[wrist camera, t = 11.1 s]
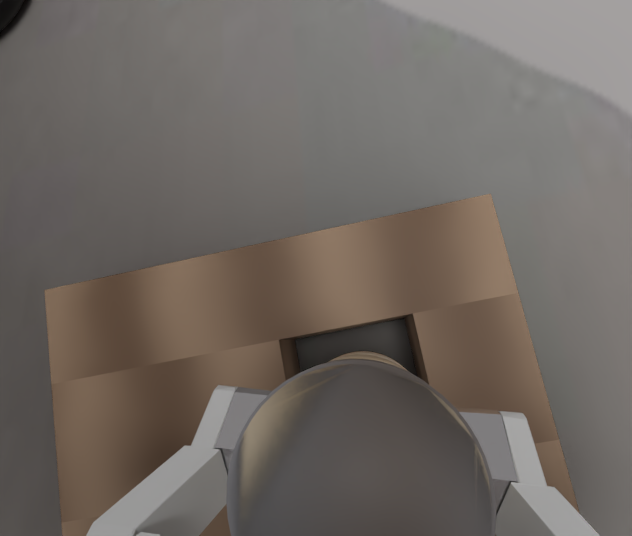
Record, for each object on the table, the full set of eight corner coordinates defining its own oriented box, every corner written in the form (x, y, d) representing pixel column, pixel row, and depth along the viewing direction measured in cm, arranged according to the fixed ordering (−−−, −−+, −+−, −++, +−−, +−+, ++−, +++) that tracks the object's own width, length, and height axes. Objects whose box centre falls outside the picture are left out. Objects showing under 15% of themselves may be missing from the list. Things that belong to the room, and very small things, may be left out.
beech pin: (316, 486, 14) (248, 666, 6) (293, 361, 15) (209, 386, 7) (439, 465, 14) (530, 630, 6) (410, 339, 15) (457, 338, 7)
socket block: (126, 580, 21) (69, 637, 17) (98, 298, 23) (44, 290, 19) (546, 516, 19) (593, 562, 15) (468, 219, 22) (490, 193, 18)
